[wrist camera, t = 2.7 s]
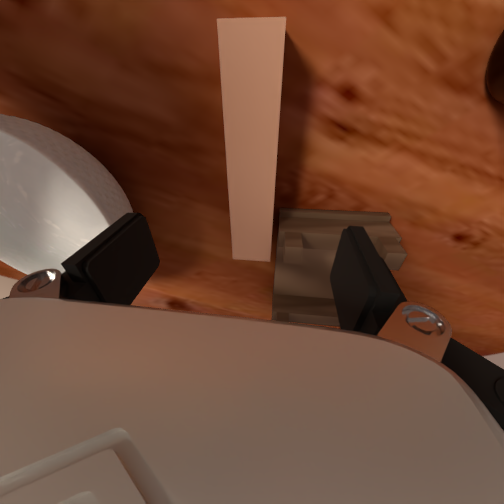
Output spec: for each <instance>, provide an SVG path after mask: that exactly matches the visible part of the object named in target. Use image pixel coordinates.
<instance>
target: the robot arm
mask: <svg viewBox="0 0 504 504" xmlns="http://www.w3.org/2000/svg"><path fill="white" fill-rule="evenodd" d="M159 262H160V260H159V257H158V254H157V251H156V248H155V244H154V241H153V238H152V235H151V232H150V229H149V226H148V223H147V220H146V218H145V217H144V216H143V215H142V214H140V213H126V214H125V215H123V216H122V217H121V218H119V219H118V220H117V221H115V222H114V223H113V224H112V225H110V226H109V227H108V228H106V229H105V230H104V231H102V232H101V233H100V234H99V235H97V236H96V237H95V238H93V239H92V240H91V241H89V242H88V243H87V244H86V245H84V246H83V247H82V248H80V249H79V250H78V251H76V252H75V253H74V254H73V255H71V256H70V257H69V258H67V259H66V260H65V261H63V262H62V263H61V265H62V266H63V268H64V269H65V272H64V273H61V272H60V271H59V270H57V269H44V270H39V271H36V272H33V273H31V274H29V275H27V276H25V277H23V278H22V279H20V280H19V281H18V282H17V283H16V284H15V285H14V286H13V288H12V290H11V292H10V296H9V297H6V298H3V299H0V504H504V369H502V368H500V367H499V366H497V365H495V364H494V363H492V362H490V361H489V360H487V359H485V358H484V357H482V356H480V355H479V354H477V353H475V352H474V351H472V350H470V349H469V348H467V347H466V346H464V345H462V344H461V343H459V342H457V341H456V340H454V339H452V338H451V334H452V329H451V326H450V324H449V322H448V321H447V320H446V319H445V317H444V316H442V315H441V314H440V313H439V312H438V311H436V310H434V309H433V308H431V307H429V306H427V305H424V304H422V303H418V302H411V301H407V300H406V298H405V296H404V294H403V293H402V291H401V289H400V287H399V286H398V284H397V282H396V280H395V279H394V277H393V275H392V273H391V272H390V270H389V268H388V266H387V264H386V263H385V261H384V259H383V258H382V257H380V256H379V254H378V252H377V250H376V249H375V247H374V245H373V243H372V241H371V239H370V238H369V236H368V234H367V232H366V230H365V229H364V227H363V226H348V228H347V229H343V231H342V234H341V237H340V241H339V245H338V248H337V252H336V255H335V259H334V262H333V266H332V269H331V273H330V283H331V288H332V292H333V297H334V301H335V306H336V310H337V315H338V319H339V323H340V328H341V329H337V328H329V327H322V326H314V325H305V324H298V323H289V322H281V321H272V320H263V319H254V318H245V317H236V316H227V315H218V314H208V313H199V312H190V311H180V310H171V309H161V308H152V307H142V306H132V305H131V303H132V302H133V300H134V299H135V298H136V296H137V295H138V294H139V292H140V291H141V289H142V288H143V287H144V285H145V284H146V283H147V281H148V280H149V278H150V277H151V276H152V274H153V273H154V272H155V270H156V269H157V268H158V266H159Z"/></svg>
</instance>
